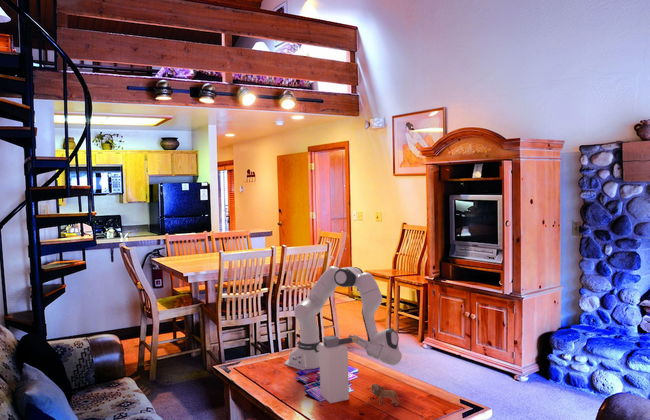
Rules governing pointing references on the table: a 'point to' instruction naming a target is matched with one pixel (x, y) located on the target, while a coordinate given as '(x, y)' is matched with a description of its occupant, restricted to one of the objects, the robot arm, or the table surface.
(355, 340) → the dark grey elongated piece
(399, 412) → the table surface
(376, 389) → the lion figurine
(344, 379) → the stand
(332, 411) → the table surface
